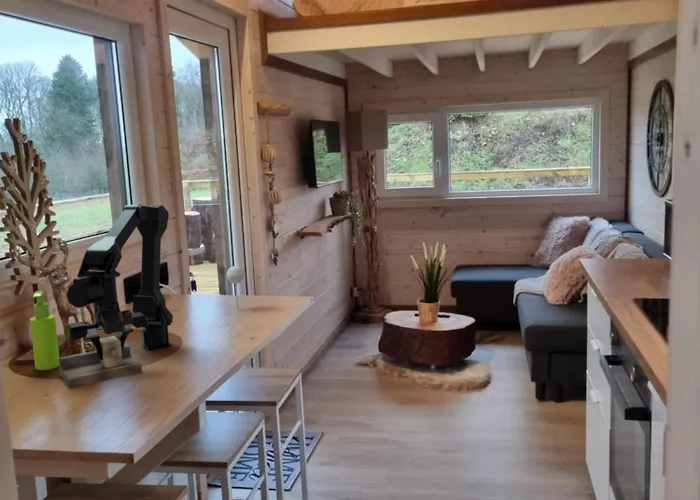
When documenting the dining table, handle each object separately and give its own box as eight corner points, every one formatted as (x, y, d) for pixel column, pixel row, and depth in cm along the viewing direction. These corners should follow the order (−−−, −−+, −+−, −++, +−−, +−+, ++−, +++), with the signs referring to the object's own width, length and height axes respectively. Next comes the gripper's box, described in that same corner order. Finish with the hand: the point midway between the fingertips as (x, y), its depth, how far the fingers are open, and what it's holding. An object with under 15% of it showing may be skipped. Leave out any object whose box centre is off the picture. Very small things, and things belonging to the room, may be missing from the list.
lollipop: (226, 308, 228) (224, 265, 225) (243, 306, 230) (241, 263, 228) (231, 312, 222) (228, 268, 220) (248, 310, 224) (246, 266, 222)
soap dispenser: (32, 372, 169) (23, 295, 165) (37, 364, 175) (29, 289, 172) (57, 369, 170) (49, 293, 167) (61, 361, 177) (53, 287, 173)
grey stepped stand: (129, 361, 175) (128, 344, 175) (142, 372, 166) (140, 354, 165) (60, 375, 166) (58, 357, 165) (69, 388, 157) (67, 369, 156)
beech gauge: (116, 358, 171) (114, 335, 170) (125, 367, 164) (123, 344, 163) (99, 361, 169) (97, 338, 168) (109, 371, 162) (107, 347, 161)
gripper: (72, 310, 153) (78, 375, 156) (152, 297, 164) (157, 359, 166) (62, 301, 163) (68, 363, 165) (139, 290, 173) (144, 348, 175)
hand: (110, 358), depth 168 cm, fingers closed on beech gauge, 4 cm apart
